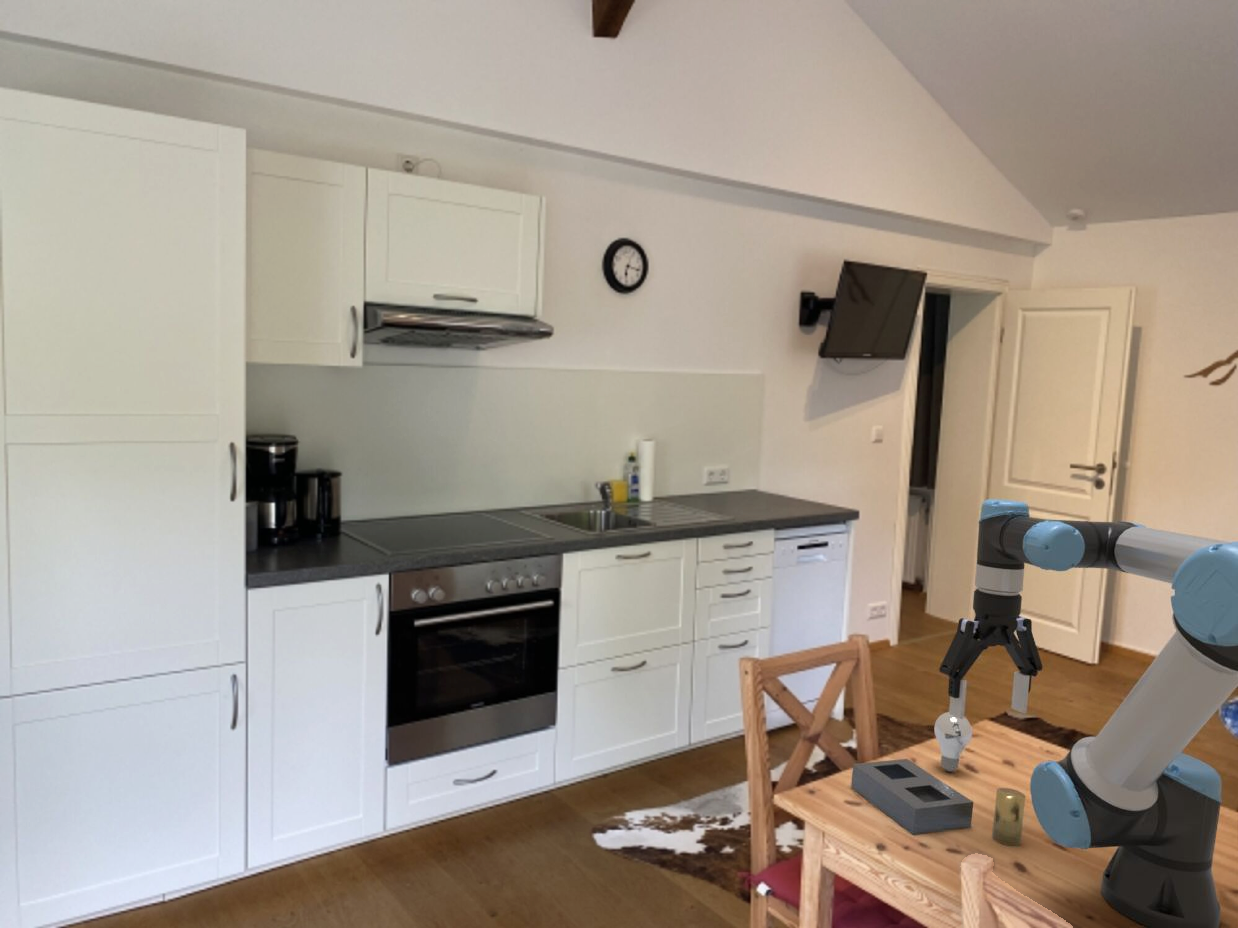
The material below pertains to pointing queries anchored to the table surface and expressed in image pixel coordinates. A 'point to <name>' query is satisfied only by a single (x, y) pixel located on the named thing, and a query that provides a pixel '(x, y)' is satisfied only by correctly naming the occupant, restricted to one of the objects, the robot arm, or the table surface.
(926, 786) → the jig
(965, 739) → the light bulb
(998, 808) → the brass cylinder
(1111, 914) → the table surface
